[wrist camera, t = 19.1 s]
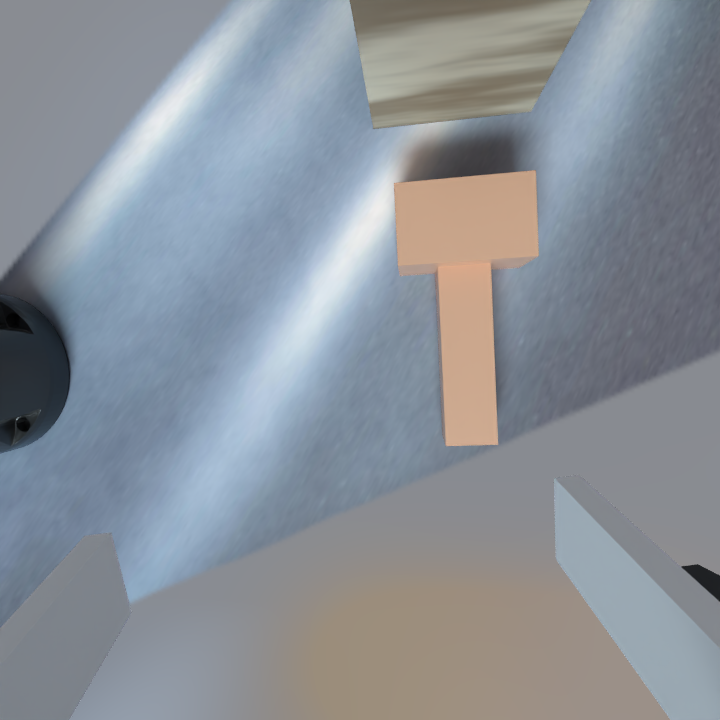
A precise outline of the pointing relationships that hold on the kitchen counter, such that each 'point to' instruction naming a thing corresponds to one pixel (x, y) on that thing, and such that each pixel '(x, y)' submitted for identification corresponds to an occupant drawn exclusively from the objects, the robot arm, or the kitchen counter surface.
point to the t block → (466, 280)
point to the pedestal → (459, 55)
